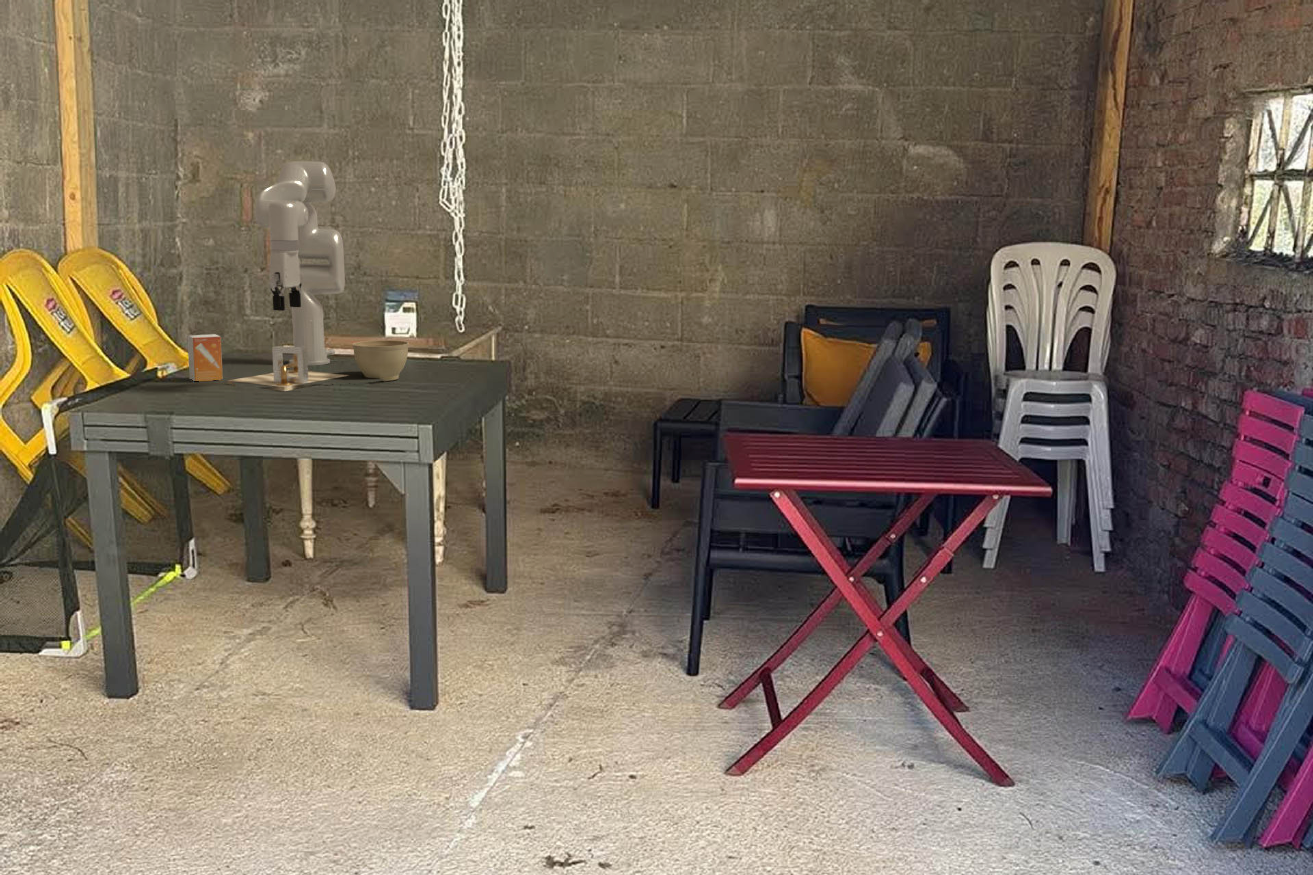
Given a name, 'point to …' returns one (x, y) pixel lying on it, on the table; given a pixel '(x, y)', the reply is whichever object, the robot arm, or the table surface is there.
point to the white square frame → (302, 363)
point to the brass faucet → (284, 370)
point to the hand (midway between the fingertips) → (287, 308)
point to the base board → (269, 378)
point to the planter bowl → (381, 358)
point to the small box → (205, 357)
